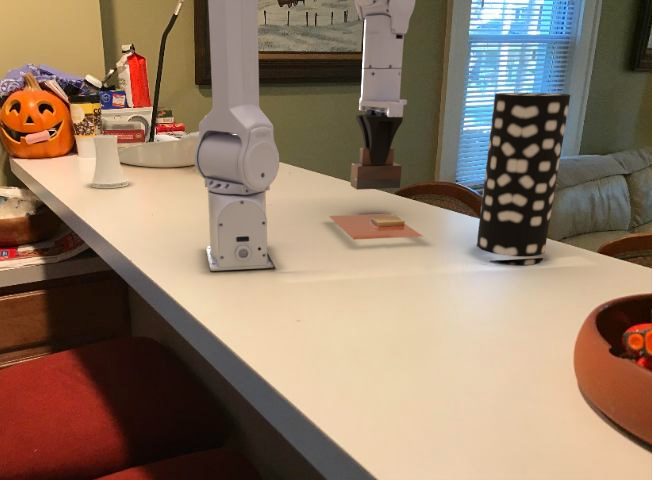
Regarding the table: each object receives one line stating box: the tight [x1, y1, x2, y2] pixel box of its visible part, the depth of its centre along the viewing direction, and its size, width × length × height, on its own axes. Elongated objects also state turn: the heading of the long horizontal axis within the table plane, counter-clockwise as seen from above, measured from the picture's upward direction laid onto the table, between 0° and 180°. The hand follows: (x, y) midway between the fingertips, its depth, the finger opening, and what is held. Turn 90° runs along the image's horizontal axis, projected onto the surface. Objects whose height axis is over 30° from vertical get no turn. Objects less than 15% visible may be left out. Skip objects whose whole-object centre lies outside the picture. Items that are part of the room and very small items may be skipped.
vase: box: [90, 134, 129, 189], centre depth 126 cm, size 8×8×10 cm
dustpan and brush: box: [118, 130, 199, 169], centre depth 150 cm, size 23×33×10 cm
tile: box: [328, 213, 423, 241], centre depth 90 cm, size 14×10×1 cm
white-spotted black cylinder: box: [476, 92, 571, 266], centre depth 76 cm, size 8×8×20 cm
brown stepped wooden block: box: [350, 146, 403, 191], centre depth 94 cm, size 7×4×6 cm, turn 99°
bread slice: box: [370, 214, 406, 227], centre depth 91 cm, size 4×4×1 cm
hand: (376, 162), depth 94 cm, fingers closed on brown stepped wooden block, 2 cm apart
